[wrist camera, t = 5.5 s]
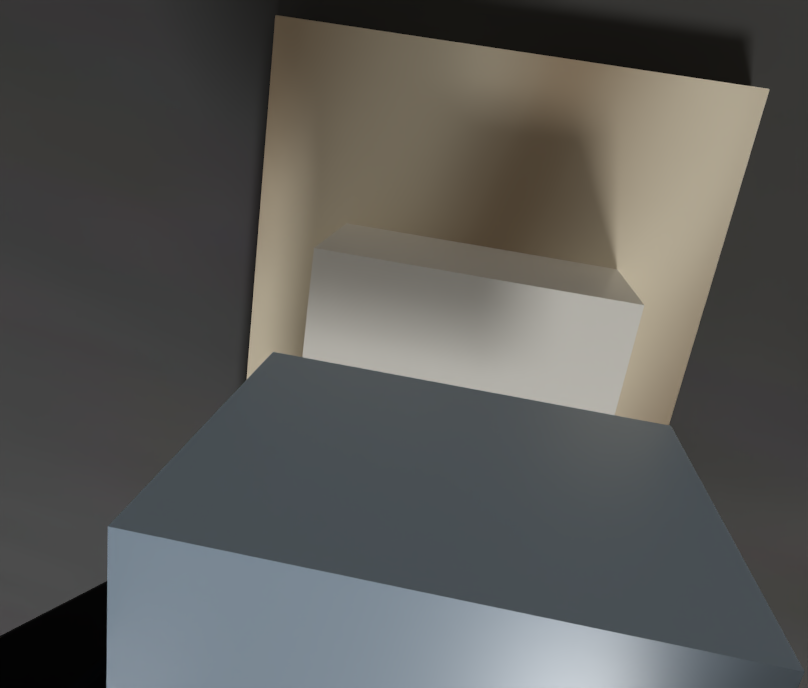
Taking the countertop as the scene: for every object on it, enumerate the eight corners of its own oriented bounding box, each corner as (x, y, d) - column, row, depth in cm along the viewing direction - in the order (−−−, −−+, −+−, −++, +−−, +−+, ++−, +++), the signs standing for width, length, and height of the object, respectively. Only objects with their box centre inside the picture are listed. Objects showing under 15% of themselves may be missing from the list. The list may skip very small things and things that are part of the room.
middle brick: (671, 425, 9) (803, 672, 5) (578, 735, 10) (623, 1100, 6) (273, 351, 9) (108, 526, 5) (244, 662, 11) (103, 966, 7)
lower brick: (617, 269, 15) (644, 305, 12) (557, 506, 17) (568, 584, 14) (346, 223, 16) (314, 248, 13) (318, 460, 18) (284, 526, 15)
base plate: (752, 90, 15) (769, 88, 14) (595, 626, 19) (600, 653, 18) (288, 20, 15) (275, 14, 15) (243, 554, 20) (230, 575, 19)
